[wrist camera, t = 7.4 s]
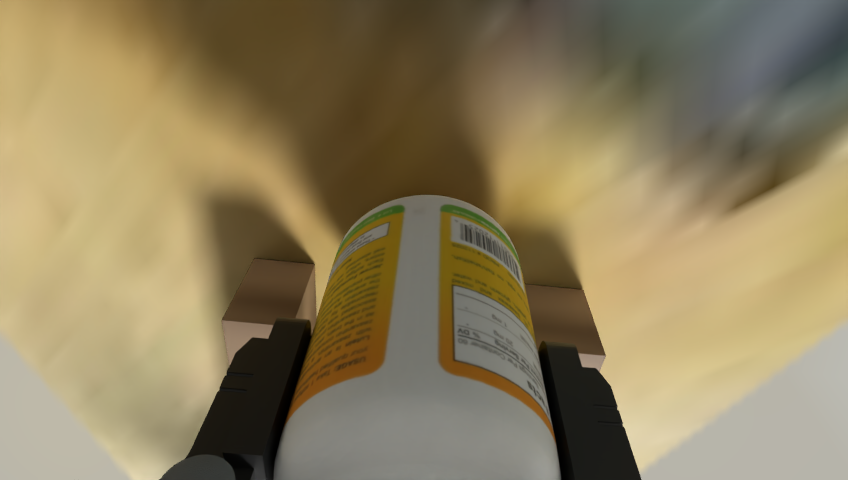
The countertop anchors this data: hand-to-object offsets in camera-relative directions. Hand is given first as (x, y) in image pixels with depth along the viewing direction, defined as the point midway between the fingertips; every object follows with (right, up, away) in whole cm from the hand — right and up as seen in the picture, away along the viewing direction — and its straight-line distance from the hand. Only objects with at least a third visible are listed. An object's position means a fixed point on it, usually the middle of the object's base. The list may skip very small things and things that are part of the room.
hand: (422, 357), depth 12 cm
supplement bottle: (0, +2, +3) cm, 4 cm away
